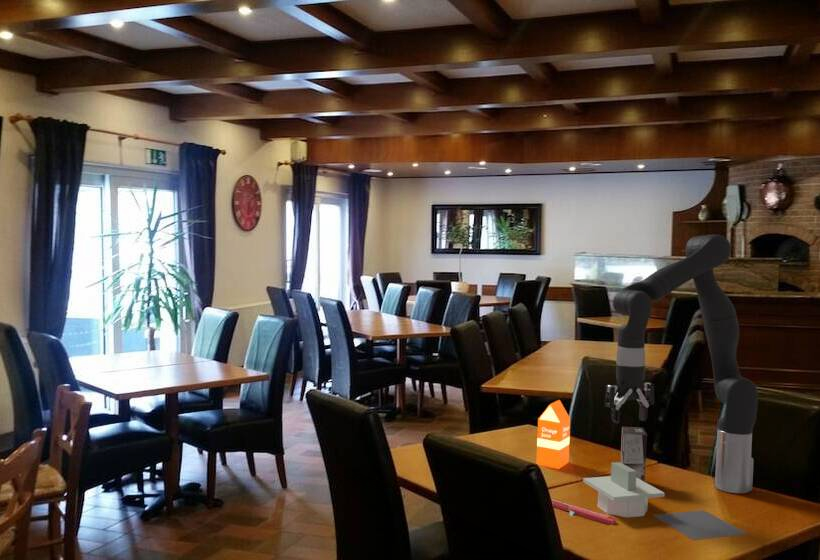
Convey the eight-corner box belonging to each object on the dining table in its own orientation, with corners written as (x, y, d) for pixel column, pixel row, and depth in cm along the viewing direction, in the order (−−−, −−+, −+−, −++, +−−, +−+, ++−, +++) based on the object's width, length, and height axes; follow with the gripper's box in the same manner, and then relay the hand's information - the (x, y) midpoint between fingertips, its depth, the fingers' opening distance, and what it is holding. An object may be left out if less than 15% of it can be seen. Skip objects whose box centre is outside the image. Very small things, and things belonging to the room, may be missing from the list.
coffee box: (645, 490, 208) (647, 434, 208) (622, 487, 210) (624, 433, 209) (641, 480, 217) (644, 427, 217) (619, 478, 219) (621, 425, 218)
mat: (703, 511, 192) (703, 510, 192) (747, 535, 177) (747, 533, 177) (652, 516, 188) (652, 514, 188) (692, 541, 172) (692, 539, 172)
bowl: (628, 500, 200) (629, 480, 199) (655, 516, 188) (656, 495, 188) (590, 503, 196) (591, 483, 196) (615, 519, 185) (615, 498, 184)
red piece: (610, 532, 180) (618, 521, 183) (609, 524, 179) (617, 514, 182) (528, 506, 196) (537, 497, 199) (527, 499, 195) (536, 490, 199)
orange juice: (568, 462, 233) (571, 401, 232) (559, 469, 226) (561, 405, 225) (546, 457, 237) (548, 397, 236) (535, 464, 230) (538, 402, 229)
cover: (630, 478, 201) (631, 457, 201) (664, 496, 187) (665, 473, 187) (583, 481, 197) (584, 460, 197) (613, 501, 183) (614, 477, 182)
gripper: (644, 359, 203) (642, 416, 204) (600, 362, 199) (599, 420, 200) (661, 364, 196) (659, 423, 197) (616, 366, 192) (615, 426, 192)
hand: (629, 421), depth 198 cm, fingers open, 8 cm apart
